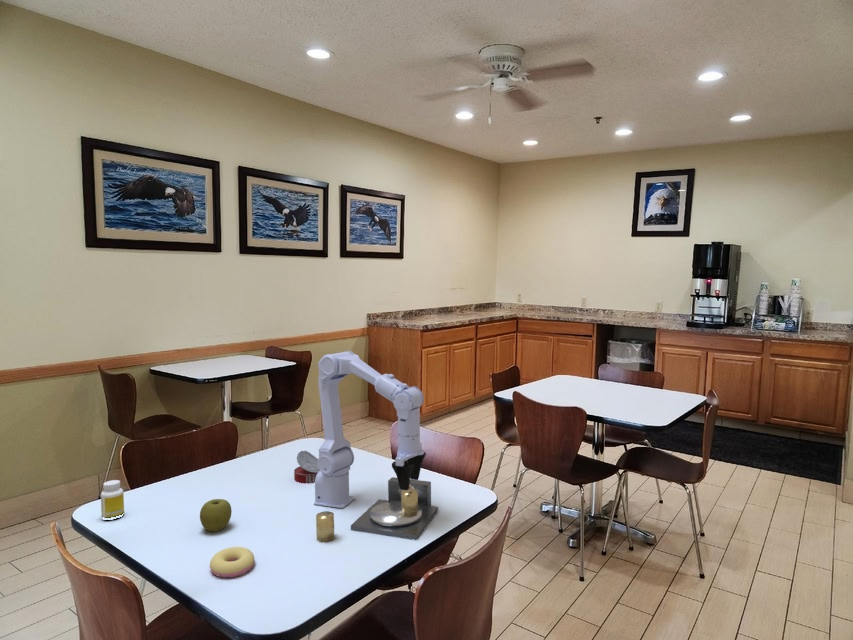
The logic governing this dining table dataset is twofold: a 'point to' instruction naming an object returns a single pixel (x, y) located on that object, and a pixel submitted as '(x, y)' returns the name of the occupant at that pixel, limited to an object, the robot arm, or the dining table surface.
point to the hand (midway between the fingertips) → (409, 484)
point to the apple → (215, 514)
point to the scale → (394, 494)
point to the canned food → (306, 468)
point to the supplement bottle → (112, 499)
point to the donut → (232, 562)
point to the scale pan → (392, 514)
